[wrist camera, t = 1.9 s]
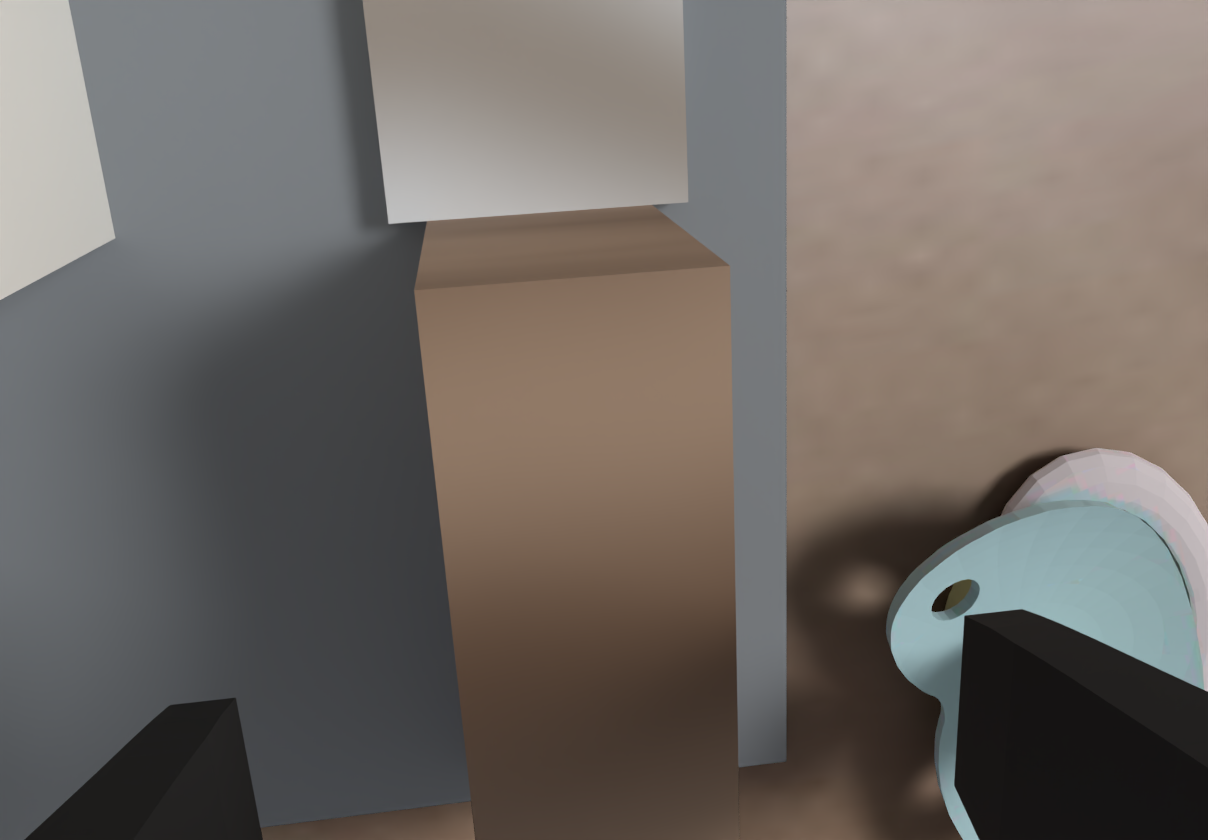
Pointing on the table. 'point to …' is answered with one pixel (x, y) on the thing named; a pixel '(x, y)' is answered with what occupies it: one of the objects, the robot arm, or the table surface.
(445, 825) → the table surface
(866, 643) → the table surface
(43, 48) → the tile
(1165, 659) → the pacifier
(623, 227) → the brown rectangular block
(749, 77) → the mat
